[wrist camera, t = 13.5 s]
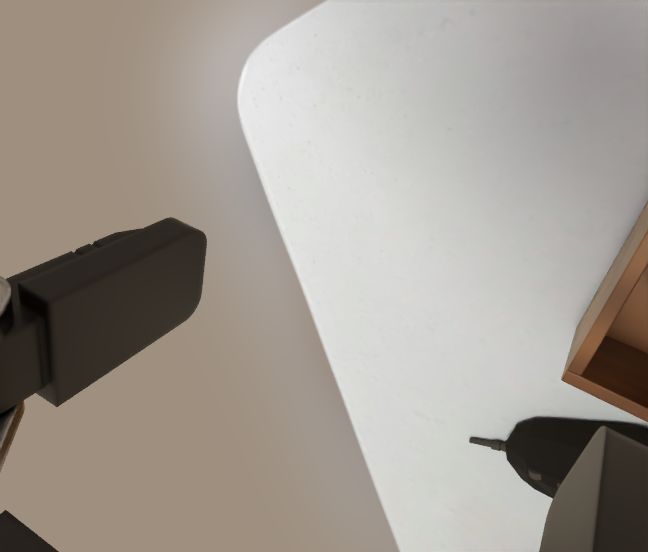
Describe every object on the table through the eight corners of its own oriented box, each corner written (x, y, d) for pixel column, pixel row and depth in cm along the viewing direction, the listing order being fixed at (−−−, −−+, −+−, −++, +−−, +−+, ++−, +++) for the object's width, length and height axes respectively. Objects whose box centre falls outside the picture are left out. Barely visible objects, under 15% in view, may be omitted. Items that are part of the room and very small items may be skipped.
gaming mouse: (465, 404, 43) (449, 434, 40) (695, 429, 35) (698, 469, 32) (475, 471, 45) (461, 505, 42) (695, 509, 37) (698, 554, 34)
